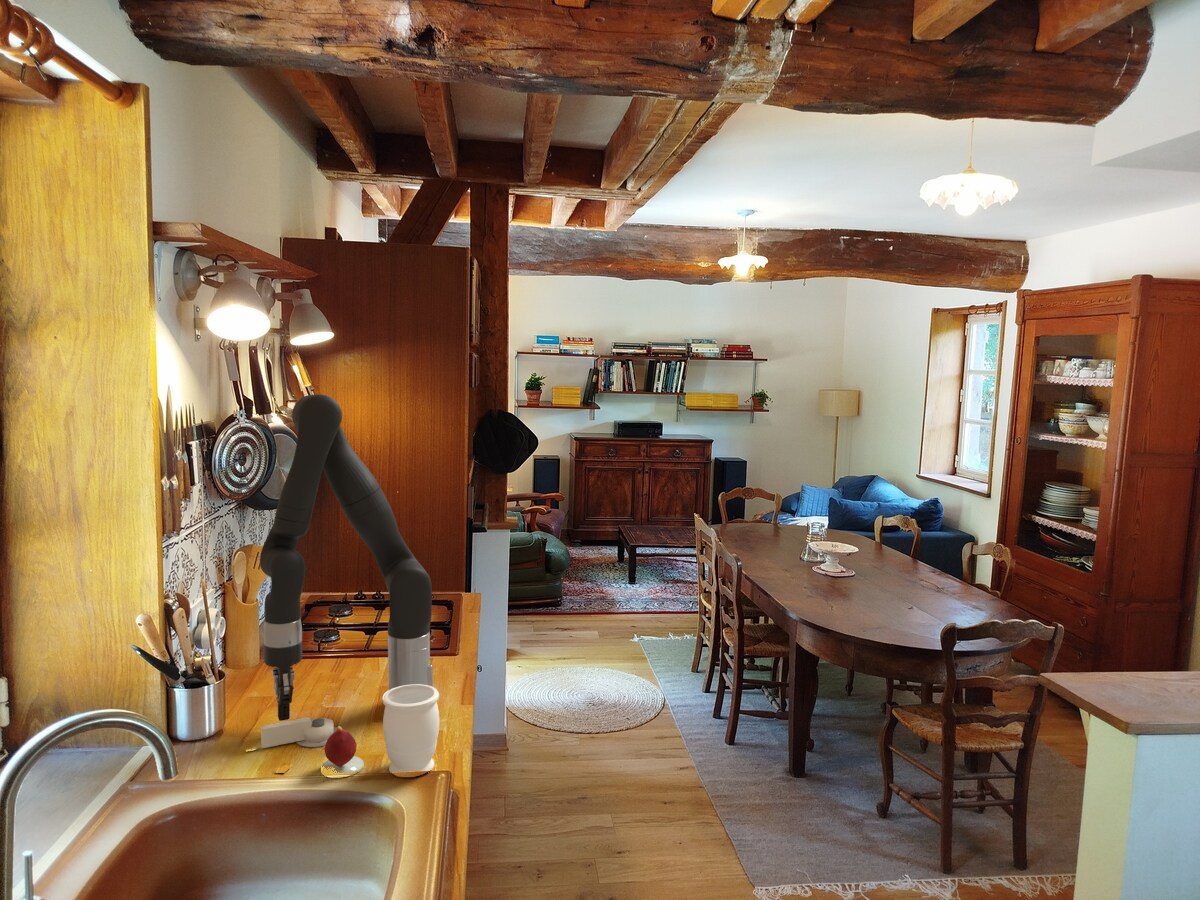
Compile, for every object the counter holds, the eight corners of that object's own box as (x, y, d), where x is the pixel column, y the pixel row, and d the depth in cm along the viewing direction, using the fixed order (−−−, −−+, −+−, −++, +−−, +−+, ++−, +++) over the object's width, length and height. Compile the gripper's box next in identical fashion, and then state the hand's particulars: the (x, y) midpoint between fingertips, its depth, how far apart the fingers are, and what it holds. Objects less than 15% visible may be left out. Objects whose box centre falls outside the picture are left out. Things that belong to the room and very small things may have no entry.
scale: (336, 724, 173) (336, 722, 173) (352, 759, 158) (352, 757, 158) (243, 742, 164) (243, 740, 164) (251, 781, 149) (251, 779, 149)
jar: (395, 788, 148) (394, 710, 146) (375, 764, 156) (374, 691, 154) (448, 771, 154) (448, 697, 152) (426, 749, 162) (425, 679, 161)
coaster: (358, 754, 160) (358, 752, 160) (367, 772, 153) (367, 770, 153) (317, 763, 156) (317, 761, 156) (324, 782, 149) (324, 780, 149)
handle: (330, 726, 171) (330, 708, 170) (336, 738, 166) (335, 720, 165) (260, 740, 164) (259, 721, 164) (263, 753, 159) (262, 734, 159)
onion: (359, 758, 158) (359, 719, 157) (352, 773, 152) (351, 733, 151) (329, 758, 157) (329, 719, 156) (321, 773, 152) (320, 733, 151)
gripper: (306, 647, 164) (306, 728, 166) (297, 628, 175) (298, 703, 177) (266, 652, 160) (267, 735, 162) (260, 632, 172) (261, 709, 174)
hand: (283, 718), depth 170 cm, fingers closed
